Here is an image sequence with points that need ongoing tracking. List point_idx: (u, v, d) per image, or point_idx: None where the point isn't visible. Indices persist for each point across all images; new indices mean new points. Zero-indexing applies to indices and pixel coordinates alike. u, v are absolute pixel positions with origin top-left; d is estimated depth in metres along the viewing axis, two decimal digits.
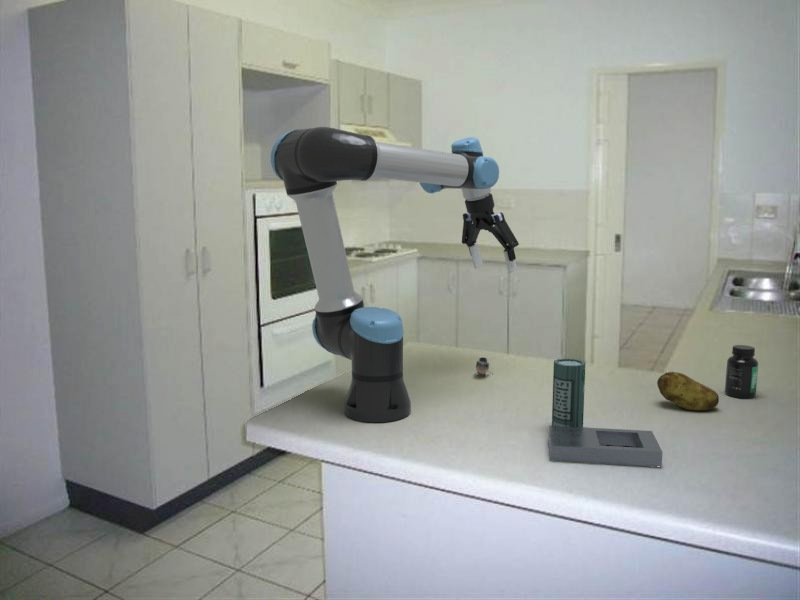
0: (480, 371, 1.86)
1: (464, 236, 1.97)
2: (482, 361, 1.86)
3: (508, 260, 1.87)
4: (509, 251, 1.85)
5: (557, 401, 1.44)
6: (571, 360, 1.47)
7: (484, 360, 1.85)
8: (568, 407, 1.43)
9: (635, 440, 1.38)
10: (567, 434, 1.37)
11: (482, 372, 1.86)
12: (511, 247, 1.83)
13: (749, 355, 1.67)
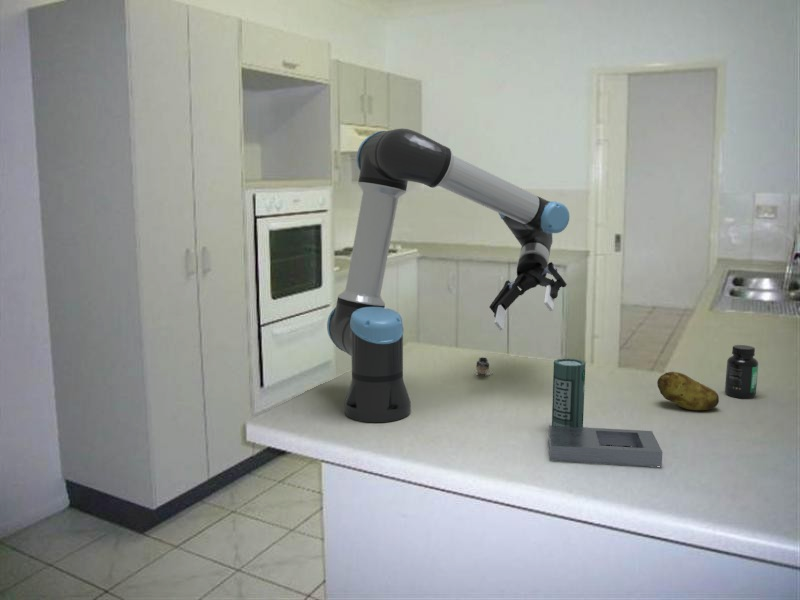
0: (480, 371, 1.86)
1: (496, 300, 1.75)
2: (482, 361, 1.86)
3: (549, 293, 1.62)
4: (554, 286, 1.63)
5: (557, 401, 1.44)
6: (571, 360, 1.47)
7: (484, 360, 1.85)
8: (568, 407, 1.43)
9: (635, 440, 1.38)
10: (567, 434, 1.37)
11: (482, 372, 1.86)
12: (559, 278, 1.63)
13: (749, 355, 1.67)
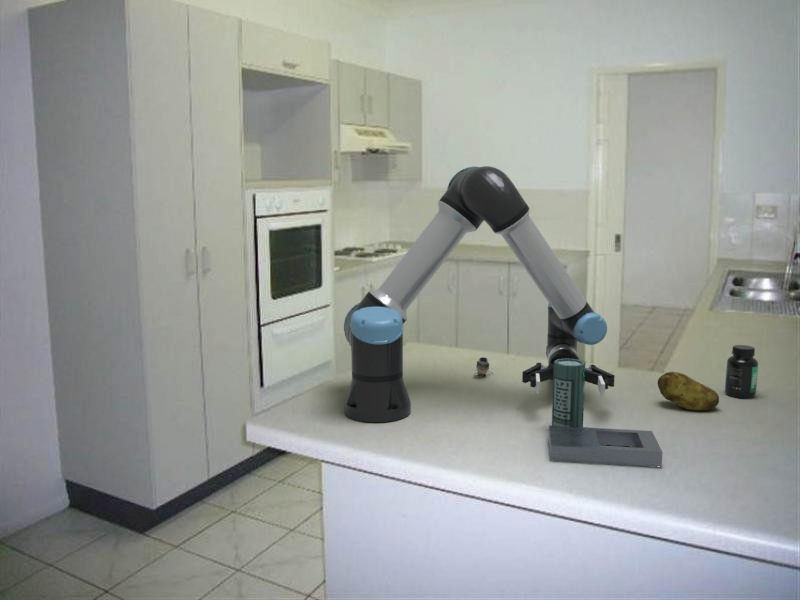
0: (480, 371, 1.86)
1: (530, 370, 1.61)
2: (482, 361, 1.86)
3: None
4: (605, 379, 1.55)
5: (557, 401, 1.44)
6: (571, 360, 1.47)
7: (484, 360, 1.86)
8: (568, 407, 1.43)
9: (635, 440, 1.38)
10: (567, 434, 1.37)
11: (483, 372, 1.86)
12: (612, 375, 1.56)
13: (749, 355, 1.67)
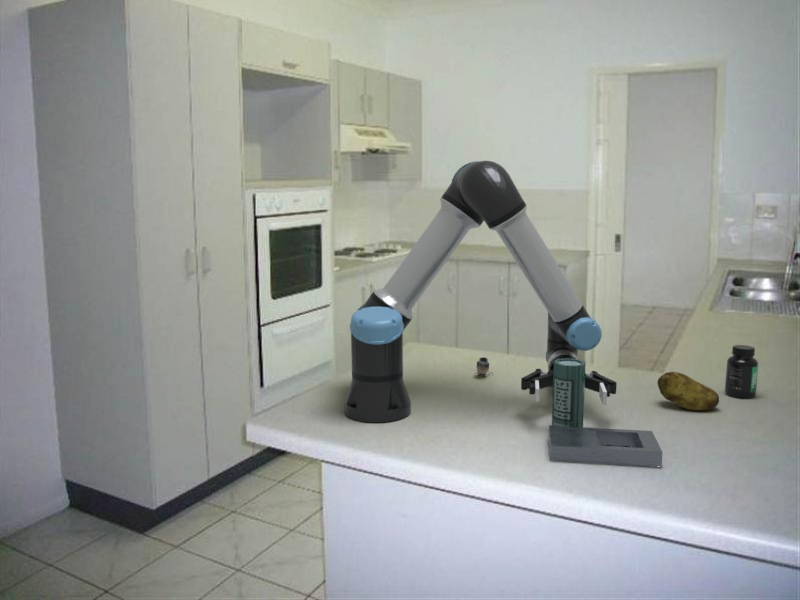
0: (480, 371, 1.86)
1: (529, 376, 1.55)
2: (482, 361, 1.86)
3: (604, 388, 1.47)
4: (607, 386, 1.49)
5: (557, 401, 1.44)
6: (571, 360, 1.47)
7: (484, 360, 1.86)
8: (568, 407, 1.43)
9: (635, 440, 1.38)
10: (567, 434, 1.37)
11: (483, 372, 1.86)
12: (614, 382, 1.50)
13: (749, 355, 1.67)
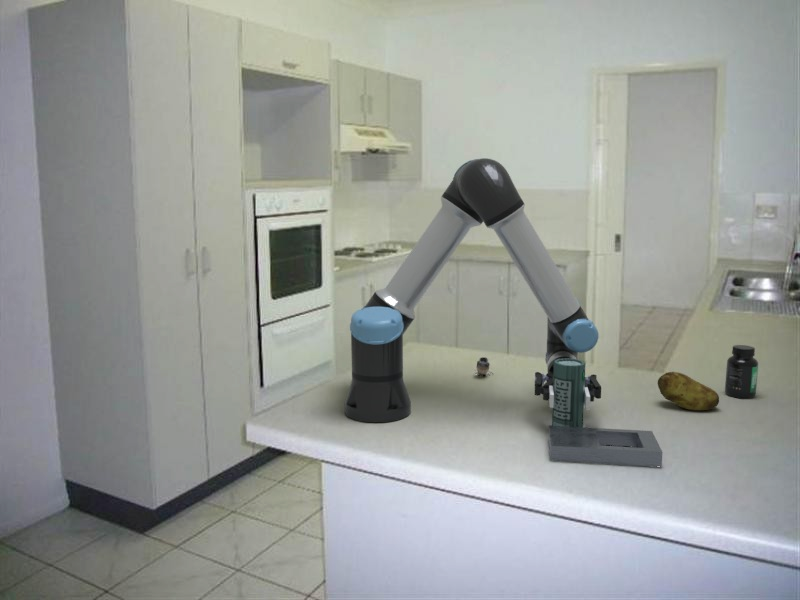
0: (481, 371, 1.86)
1: (539, 381, 1.51)
2: (483, 361, 1.86)
3: (588, 392, 1.44)
4: (591, 391, 1.46)
5: (557, 401, 1.44)
6: (571, 360, 1.47)
7: (485, 360, 1.86)
8: (568, 407, 1.43)
9: (635, 440, 1.38)
10: (567, 434, 1.37)
11: (483, 372, 1.86)
12: (599, 386, 1.47)
13: (749, 355, 1.67)
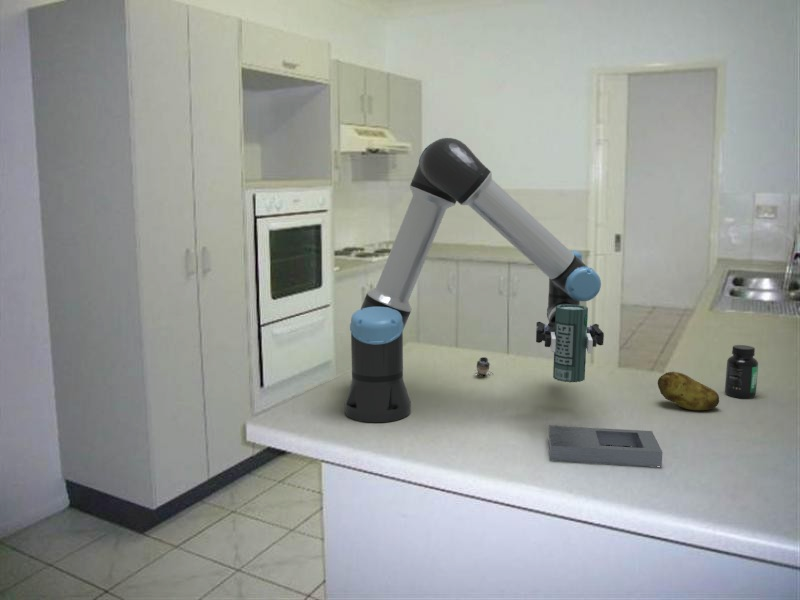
0: (481, 371, 1.86)
1: (541, 328, 1.49)
2: (483, 361, 1.86)
3: None
4: (593, 337, 1.44)
5: (559, 346, 1.42)
6: (573, 306, 1.45)
7: (485, 360, 1.86)
8: (570, 352, 1.41)
9: (635, 440, 1.38)
10: (567, 434, 1.37)
11: (483, 372, 1.86)
12: (601, 333, 1.45)
13: (749, 355, 1.67)
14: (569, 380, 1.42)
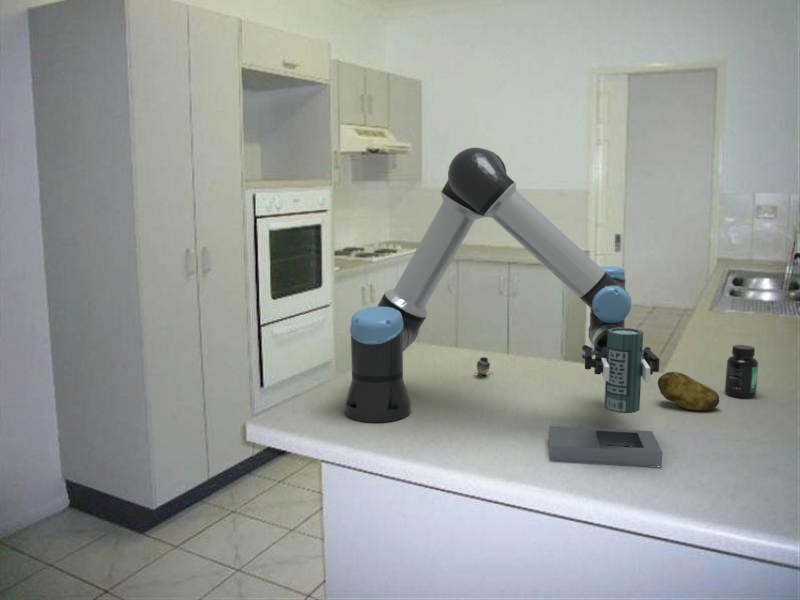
0: (481, 371, 1.86)
1: (589, 354, 1.38)
2: (483, 361, 1.86)
3: None
4: (649, 363, 1.32)
5: (612, 374, 1.30)
6: (626, 329, 1.33)
7: (485, 360, 1.86)
8: (624, 381, 1.29)
9: (635, 440, 1.38)
10: (567, 434, 1.37)
11: (483, 372, 1.87)
12: (657, 359, 1.33)
13: (749, 355, 1.67)
14: (623, 411, 1.30)
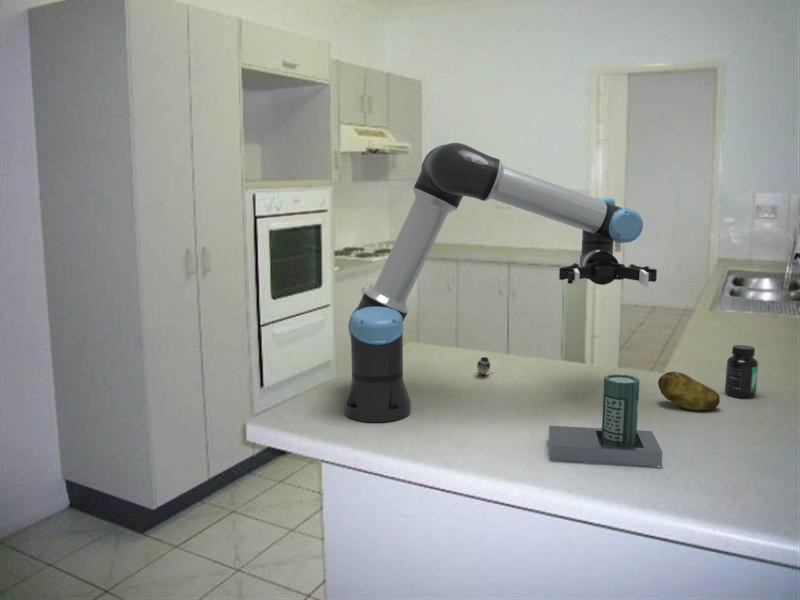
0: (481, 371, 1.86)
1: (567, 267, 1.54)
2: (483, 361, 1.86)
3: None
4: (647, 273, 1.48)
5: (608, 421, 1.32)
6: (622, 376, 1.35)
7: (485, 360, 1.86)
8: (620, 428, 1.31)
9: None
10: (567, 434, 1.37)
11: (483, 372, 1.87)
12: (655, 269, 1.49)
13: (749, 355, 1.67)
14: None
